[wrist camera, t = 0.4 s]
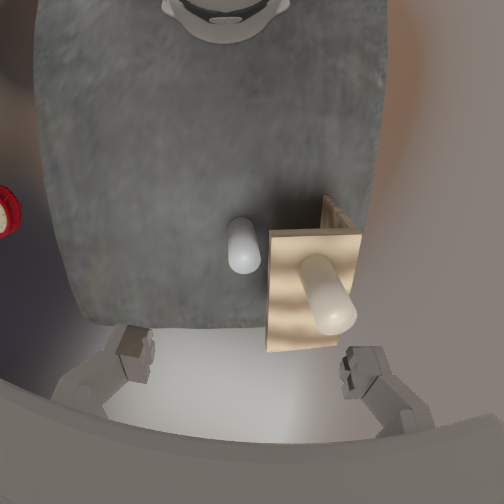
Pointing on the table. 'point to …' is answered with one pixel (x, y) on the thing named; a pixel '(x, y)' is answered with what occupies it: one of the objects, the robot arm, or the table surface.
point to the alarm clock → (9, 212)
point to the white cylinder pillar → (243, 246)
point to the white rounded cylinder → (326, 295)
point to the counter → (289, 284)
